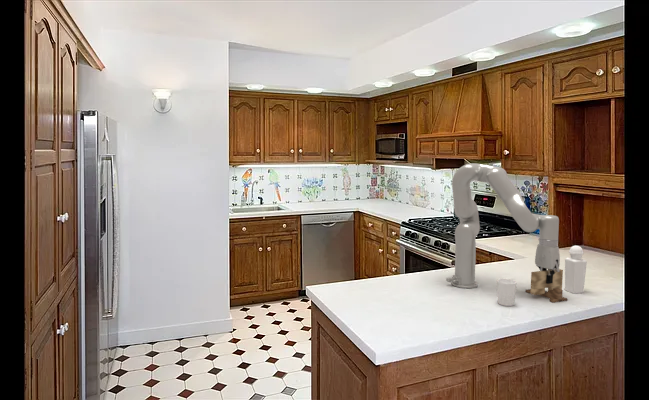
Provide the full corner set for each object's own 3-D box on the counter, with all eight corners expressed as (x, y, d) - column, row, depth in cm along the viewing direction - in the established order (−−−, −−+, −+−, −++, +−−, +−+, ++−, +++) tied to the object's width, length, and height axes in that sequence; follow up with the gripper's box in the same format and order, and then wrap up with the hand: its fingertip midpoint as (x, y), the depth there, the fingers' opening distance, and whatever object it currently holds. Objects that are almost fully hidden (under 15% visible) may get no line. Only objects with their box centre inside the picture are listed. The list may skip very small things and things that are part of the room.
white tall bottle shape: (585, 293, 204) (588, 246, 202) (572, 294, 203) (575, 247, 201) (575, 288, 210) (577, 243, 208) (562, 289, 209) (565, 244, 207)
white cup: (495, 299, 195) (496, 278, 194) (514, 301, 193) (515, 279, 192) (497, 305, 188) (497, 283, 187) (516, 307, 186) (517, 284, 185)
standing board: (567, 300, 194) (567, 289, 193) (553, 302, 191) (553, 291, 191) (538, 290, 209) (539, 279, 208) (525, 291, 206) (525, 281, 206)
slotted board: (534, 295, 196) (535, 273, 195) (530, 293, 198) (531, 272, 197) (561, 291, 201) (562, 269, 200) (557, 289, 203) (558, 268, 202)
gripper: (528, 240, 204) (526, 278, 206) (556, 246, 189) (554, 288, 191) (541, 238, 206) (539, 277, 208) (569, 245, 191) (567, 286, 193)
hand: (546, 282), depth 199 cm, fingers closed on slotted board, 2 cm apart
